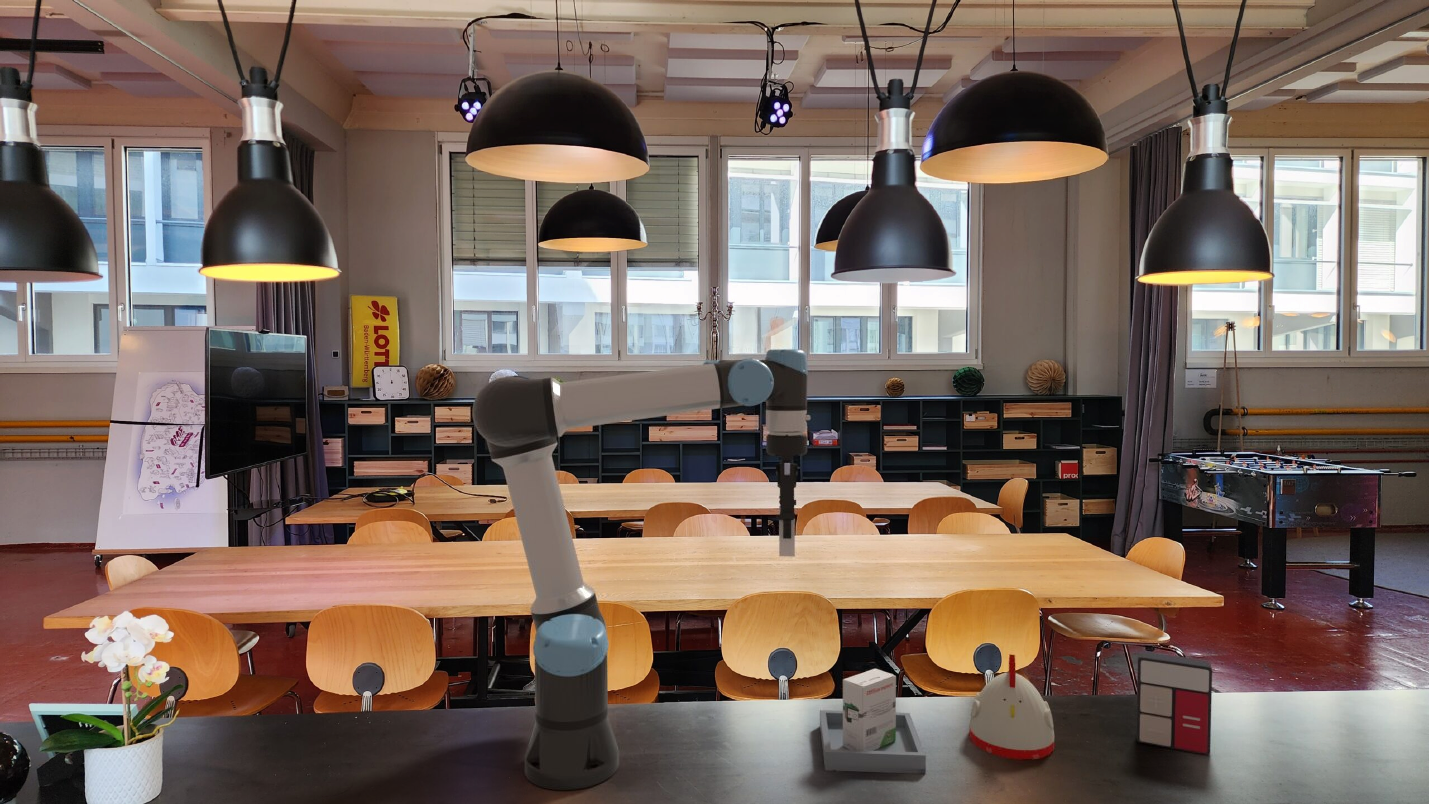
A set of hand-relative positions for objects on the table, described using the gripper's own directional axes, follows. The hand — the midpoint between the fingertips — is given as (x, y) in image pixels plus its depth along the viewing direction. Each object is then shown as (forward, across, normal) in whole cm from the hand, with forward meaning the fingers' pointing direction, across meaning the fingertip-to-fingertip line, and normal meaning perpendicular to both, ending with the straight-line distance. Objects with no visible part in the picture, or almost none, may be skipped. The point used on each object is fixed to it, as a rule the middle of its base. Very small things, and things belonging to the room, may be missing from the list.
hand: (786, 547), depth 150 cm
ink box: (+31, -12, -14) cm, 36 cm away
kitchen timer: (+32, -7, -39) cm, 51 cm away
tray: (+32, -12, -14) cm, 37 cm away
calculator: (+32, -7, -66) cm, 74 cm away
